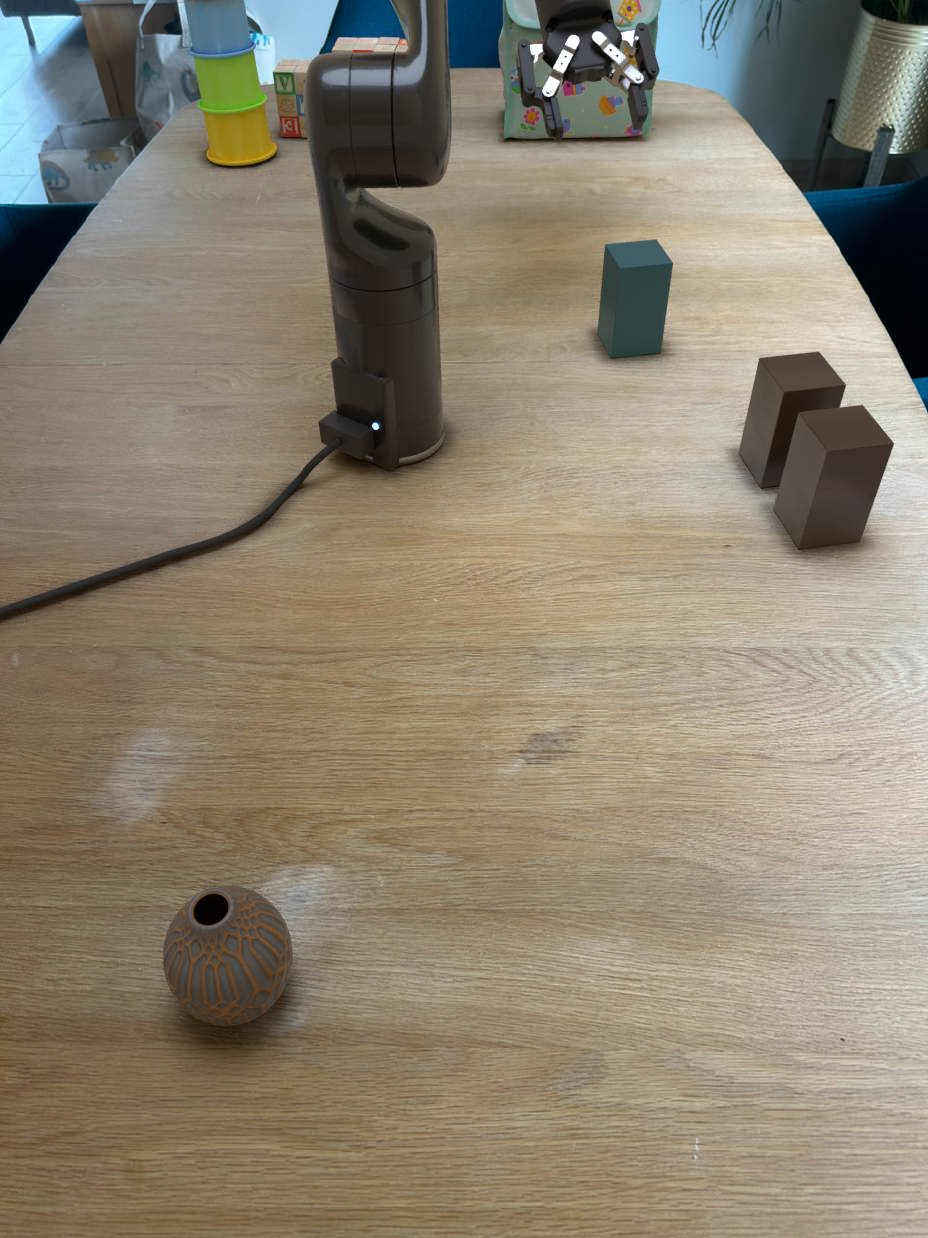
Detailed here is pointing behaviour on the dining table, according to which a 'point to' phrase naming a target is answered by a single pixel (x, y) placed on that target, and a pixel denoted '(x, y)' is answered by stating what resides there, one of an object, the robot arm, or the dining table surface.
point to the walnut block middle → (784, 409)
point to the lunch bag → (580, 105)
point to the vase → (227, 955)
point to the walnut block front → (832, 476)
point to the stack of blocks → (293, 76)
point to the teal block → (634, 297)
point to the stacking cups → (228, 82)
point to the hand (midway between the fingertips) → (599, 131)
